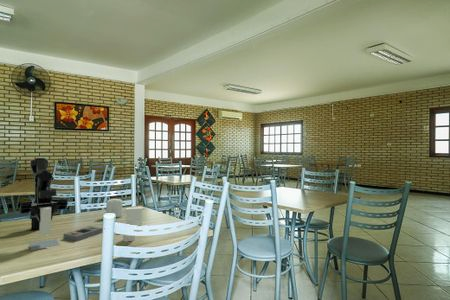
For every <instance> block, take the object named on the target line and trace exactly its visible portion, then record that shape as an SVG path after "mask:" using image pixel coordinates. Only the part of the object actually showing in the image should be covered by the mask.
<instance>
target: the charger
mask: <svg viewBox="0 0 450 300" xmlns="http://www.w3.org/2000/svg"><path fill="white" fill-rule="evenodd" d="M40 219H41V221H40V228H39V230H38V233H39V236H40V237H43V236H49V235H51V234H52V233H51V230H52V220H51V207H44V208H40Z"/></svg>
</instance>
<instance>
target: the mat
mask: <svg viewBox="0 0 450 300" xmlns="http://www.w3.org/2000/svg"><path fill="white" fill-rule="evenodd" d="M58 246H61V244H60V242H59V241H58V239H57V238H55V239H53V238H52V239H47V240H43V241H42V240H41V241H35V242H29V248H30V252H35V251H36V252H37V251H42V250H46V249H48V248H51V247H58Z"/></svg>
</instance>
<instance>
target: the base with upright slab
mask: <svg viewBox="0 0 450 300" xmlns="http://www.w3.org/2000/svg"><path fill="white" fill-rule="evenodd" d="M143 209H144V208H143V207H142V206H139V207H137V206H136V207H128V208H127V207H126V209H125V211H126V212H125V214H126V215H125V225H126V224H130V225H138V226H142V227H143V217H144V216H143Z"/></svg>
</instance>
